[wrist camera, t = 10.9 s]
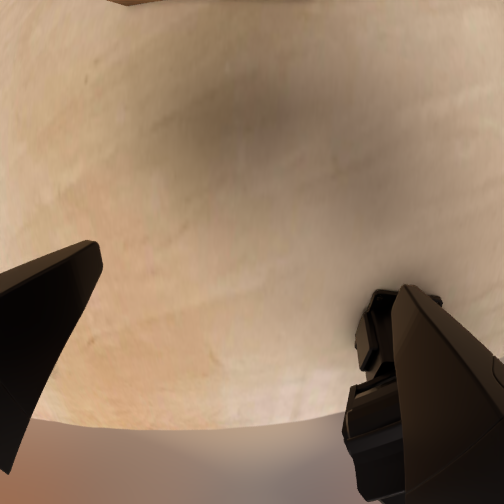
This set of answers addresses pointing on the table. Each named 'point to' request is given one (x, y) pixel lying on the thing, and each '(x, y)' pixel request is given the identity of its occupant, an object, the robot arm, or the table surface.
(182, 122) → the table surface
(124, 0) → the socket block
